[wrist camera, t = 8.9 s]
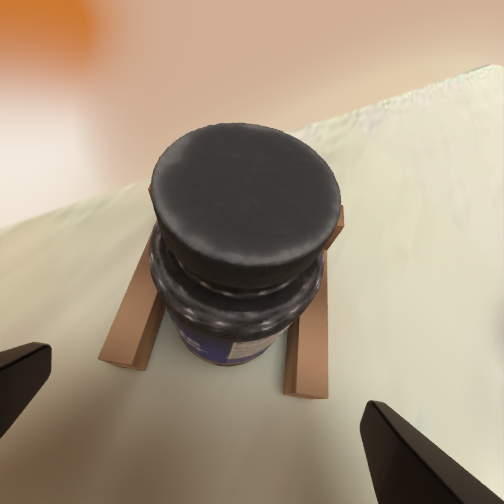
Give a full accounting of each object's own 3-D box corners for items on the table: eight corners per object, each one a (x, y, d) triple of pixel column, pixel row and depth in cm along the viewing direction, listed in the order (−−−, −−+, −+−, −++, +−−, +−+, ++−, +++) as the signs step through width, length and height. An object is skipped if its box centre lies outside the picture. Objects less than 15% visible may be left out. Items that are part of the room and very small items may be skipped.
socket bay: (310, 399, 14) (353, 397, 10) (116, 365, 14) (70, 348, 9) (314, 250, 19) (343, 205, 14) (171, 223, 18) (157, 169, 14)
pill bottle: (163, 290, 16) (86, 126, 6) (249, 255, 18) (287, 91, 9) (202, 390, 13) (170, 361, 4) (297, 336, 16) (424, 232, 6)
